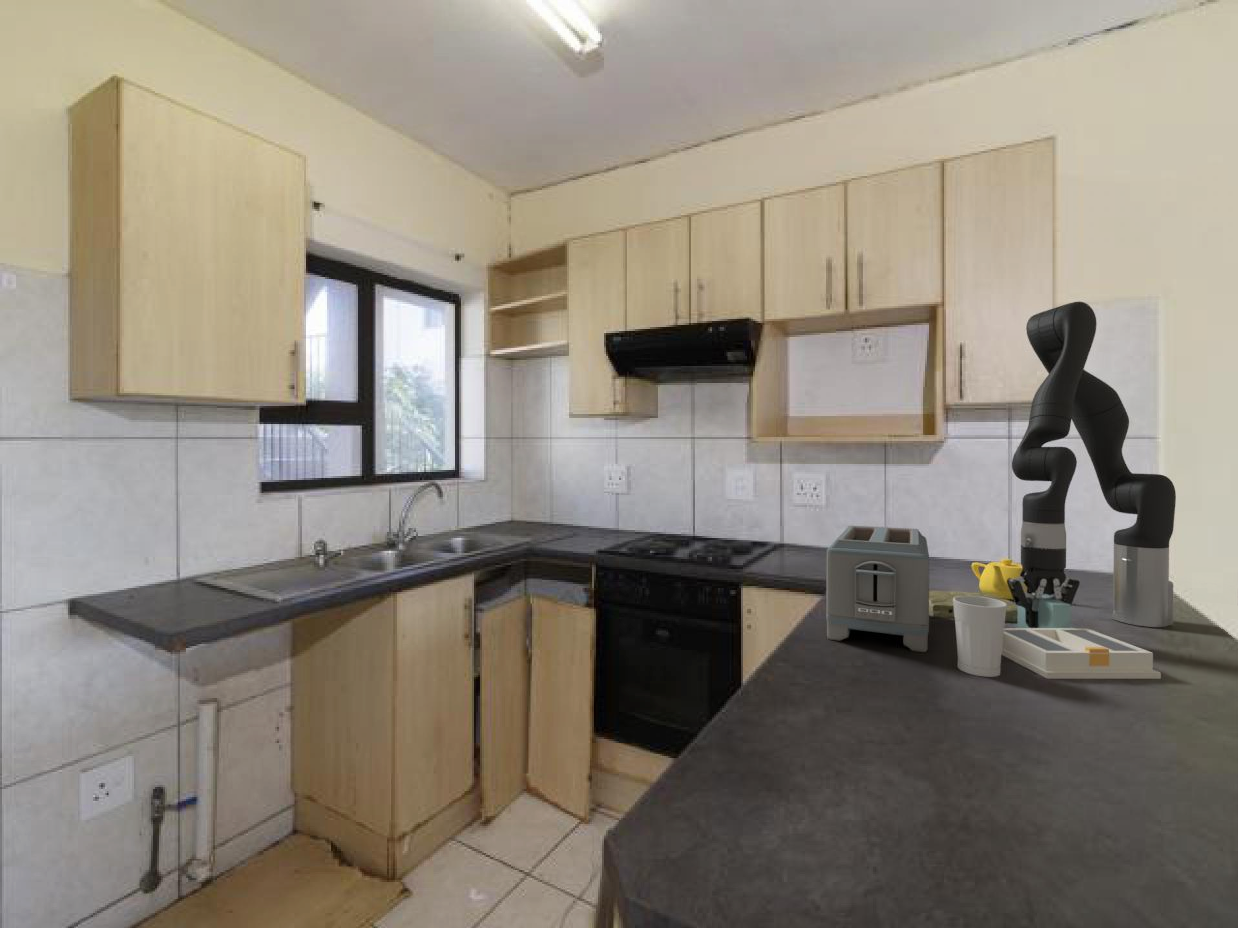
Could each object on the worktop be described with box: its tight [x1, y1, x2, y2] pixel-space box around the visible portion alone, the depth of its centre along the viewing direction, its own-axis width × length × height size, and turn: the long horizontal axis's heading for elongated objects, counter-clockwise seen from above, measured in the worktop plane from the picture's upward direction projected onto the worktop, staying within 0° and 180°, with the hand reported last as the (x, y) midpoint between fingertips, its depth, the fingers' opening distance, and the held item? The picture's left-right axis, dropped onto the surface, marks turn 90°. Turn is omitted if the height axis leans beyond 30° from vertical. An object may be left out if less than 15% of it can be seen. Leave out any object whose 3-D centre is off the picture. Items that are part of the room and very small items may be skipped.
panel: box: [1017, 593, 1072, 628], centre depth 119 cm, size 4×10×8 cm, turn 0°
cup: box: [953, 596, 1007, 678], centre depth 101 cm, size 8×8×12 cm
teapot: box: [971, 558, 1026, 601], centre depth 154 cm, size 14×13×10 cm
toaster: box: [825, 525, 930, 653], centre depth 125 cm, size 19×33×20 cm, turn 153°
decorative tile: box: [929, 590, 1018, 623], centre depth 140 cm, size 19×20×4 cm
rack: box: [1001, 627, 1162, 680], centre depth 105 cm, size 19×16×5 cm
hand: (1042, 627), depth 119 cm, fingers closed on panel, 3 cm apart
